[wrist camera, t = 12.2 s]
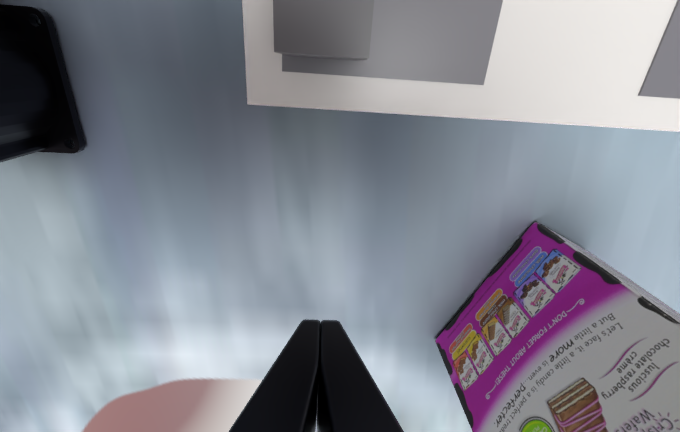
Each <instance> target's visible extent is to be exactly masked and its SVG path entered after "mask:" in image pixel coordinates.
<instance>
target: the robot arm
mask: <svg viewBox="0 0 680 432" xmlns="http://www.w3.org/2000/svg"><path fill="white" fill-rule="evenodd" d="M36 16H38V17H39V19H40V23H41V24H40V25H38V24H37V23H36V19H35V17H36ZM70 139H71V140H72V141H73V142H74V144H75V147H74V146H72V145H71V143H70ZM84 147H85V142H84V138H83V134H82V131H81V127H80V123H79V119H78V115H77V112H76V108H75V104H74V100H73V96H72V92H71V89H70V85H69V81H68V77H67V73H66V70H65V66H64V62H63V58H62V54H61V51H60V47H59V43H58V39H57V35H56V32H55V28H54V24H53V21H52V19H51V17H50V15H49V14H48V13H47V12H45V11H44V10H42V9H39V8H34V7H27V6H13V5H0V162H3V161H7V160H10V159H13V158H17V157H20V156H24V155H27V154H31V153H34V152H56V153H77V152H80V151H82V150H83V149H84ZM320 326H321V328H320ZM317 398H318V399H317ZM316 417H317V432H404V431H403V430H402V428H401V426H400V425H399V423H398V421H397V419H396V418H395V416H394V414H393V413H392V411H391V409H390V407H389V406H388V404H387V402H386V401H385V399H384V397H383V395H382V394H381V392H380V390H379V389H378V387H377V385H376V383H375V382H374V380H373V378H372V377H371V375H370V373H369V371H368V370H367V368H366V366H365V365H364V363H363V361H362V359H361V358H360V356H359V354H358V353H357V351H356V349H355V347H354V346H353V344H352V342H351V341H350V339H349V337H348V336H347V334H346V332H345V330H344V329H343V327H342V325H341V324H340V322H339V321H337V320H323V321H321V323H320V321H319V320H306V319H305V320H303V321H302V322H301V323H300V324H299V326H298V327H297V329H296V330H295V332H294V334H293V335H292V337H291V338H290V340H289V341H288V343H287V344H286V346H285V347H284V349H283V350H282V352H281V353H280V355H279V356H278V358H277V359H276V361H275V362H274V364H273V365H272V367H271V368H270V370H269V371H268V373H267V374H266V376H265V377H264V379H263V380H262V382H261V384H260V385H259V387H258V388H257V389H256V391H255V393H254V394H253V396H252V397H251V399H250V400H249V402H248V403H247V405H246V406H245V408H244V409H243V411H242V412H241V414H240V415H239V417H238V418H237V420H236V421H235V423H234V424H233V426H232V427H231V429H230V430H229V432H315V429H316Z"/></svg>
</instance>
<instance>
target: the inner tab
mask: <svg viewBox="0 0 680 432" xmlns="http://www.w3.org/2000/svg"><path fill="white" fill-rule="evenodd" d="M373 8H374V0H273V27H274V52H276V53H280V54H283V55H290V56H304V57H318V58H332V59H346V60H360V61H361V60H366V59H369V53H370V42H371V31H372V19H373Z"/></svg>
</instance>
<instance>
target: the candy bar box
mask: <svg viewBox="0 0 680 432" xmlns="http://www.w3.org/2000/svg"><path fill="white" fill-rule="evenodd" d="M435 342H436V344H437V346H438V349H439V351H440V354H441V356H442V359H443V361H444V364H445V366H446V368H447V371H448V373H449V375H450V378H451V381H452V383H453V385H454V388H455V390H456V393H457V395H458V397H459V400H460V402H461V405H462V407H463V410H464V412H465V414H466V417H467V419H468V422H469V424H470V426H471V428H472V432H680V314H679V313H678V312H676V311H675V310H673V309H672V308H670V307H669V306H667V305H666V304H665V303H663V302H662V301H660V300H659V299H657V298H656V297H655V296H653V295H652V294H650V293H649V292H647V291H646V290H644V289H643V288H642V287H640V286H639V285H637V284H636V283H634V282H633V281H632V280H630V279H629V278H627V277H626V276H624V275H623V274H621V273H620V272H618V271H617V270H615V269H614V268H612V267H611V266H609V265H608V264H606V263H605V262H603V261H602V260H600V259H599V258H597V257H596V256H595V255H593V254H592V253H590V252H588V251H587V250H585V249H583V248H581V247H580V246H578V245H576V244H574V243H573V242H571V241H569V240H568V239H566V238H564V237H563V236H561V235H559V234H557V233H556V232H554V231H552V230H550V229H549V228H547V227H545V226H544V225H542V224H540V223H537V222H535V223H533V224H532V225H531V226H530V227H529V228H528V230H527V231H526V232H525V233H524V234H523V235H522V237H521V238H520V239H519V240H518V241H517V243H516V244H515V245H514V246H513V247H512V249H511V250H510V251H509V252H508V253H507V255H506V256H505V257H504V258H503V260H502V261H501V262H500V263H499V264H498V266H497V267H496V268H495V269H494V270H493V272H492V273H491V274H490V275H489V276H488V278H487V279H486V280H485V281H484V283H483V284H482V285H481V286H480V287H479V289H478V290H477V291H476V292H475V293H474V295H473V296H472V297H471V298H470V299H469V301H468V302H467V303H466V304H465V305H464V307H463V308H462V309H461V310H460V312H459V313H458V314H457V315H456V316H455V318H454V319H453V320H452V321H451V322H450V323H449V325H448V326H447V327H446V328H445V329H444V331H443V332H442V333H441V334H440V335H439V336H438V338H437V339H436V340H435Z"/></svg>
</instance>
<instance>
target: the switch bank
mask: <svg viewBox="0 0 680 432" xmlns="http://www.w3.org/2000/svg"><path fill="white" fill-rule="evenodd" d="M242 9H243V28H244V47H245V66H246V85H247V105H262V106H278V107H294V108H310V109H326V110H342V111H358V112H374V113H389V114H405V115H421V116H437V117H453V118H469V119H485V120H501V121H517V122H533V123H549V124H564V125H580V126H596V127H612V128H628V129H644V130H660V131H676V132H680V0H374V8H373V19H372V31H371V42H370V53H369V59H366V60H361V61H360V60H346V59H332V58H318V57H304V56H290V55H283V54H280V53H276V52H274V27H273V0H242Z"/></svg>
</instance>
